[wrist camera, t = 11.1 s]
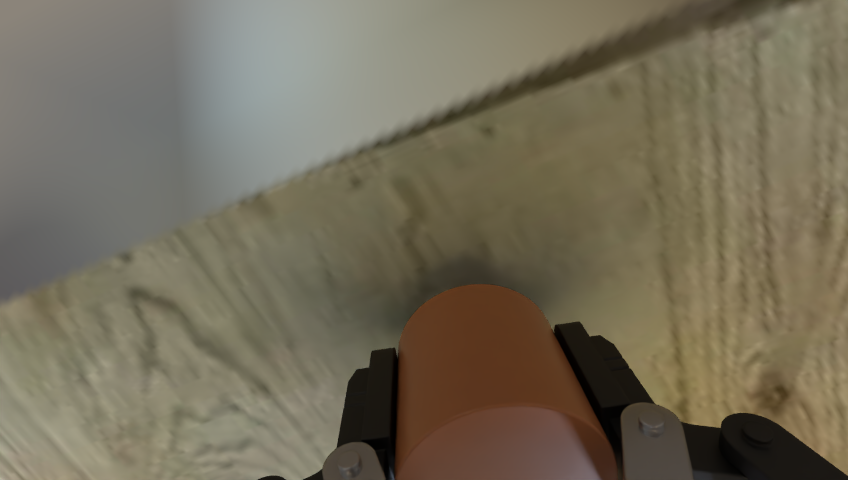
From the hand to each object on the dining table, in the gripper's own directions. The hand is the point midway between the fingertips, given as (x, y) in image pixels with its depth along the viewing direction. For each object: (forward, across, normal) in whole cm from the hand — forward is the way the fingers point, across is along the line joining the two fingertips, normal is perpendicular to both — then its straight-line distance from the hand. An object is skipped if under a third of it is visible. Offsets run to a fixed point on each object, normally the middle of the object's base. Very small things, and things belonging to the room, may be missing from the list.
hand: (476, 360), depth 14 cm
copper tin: (0, 0, 0) cm, 0 cm away
